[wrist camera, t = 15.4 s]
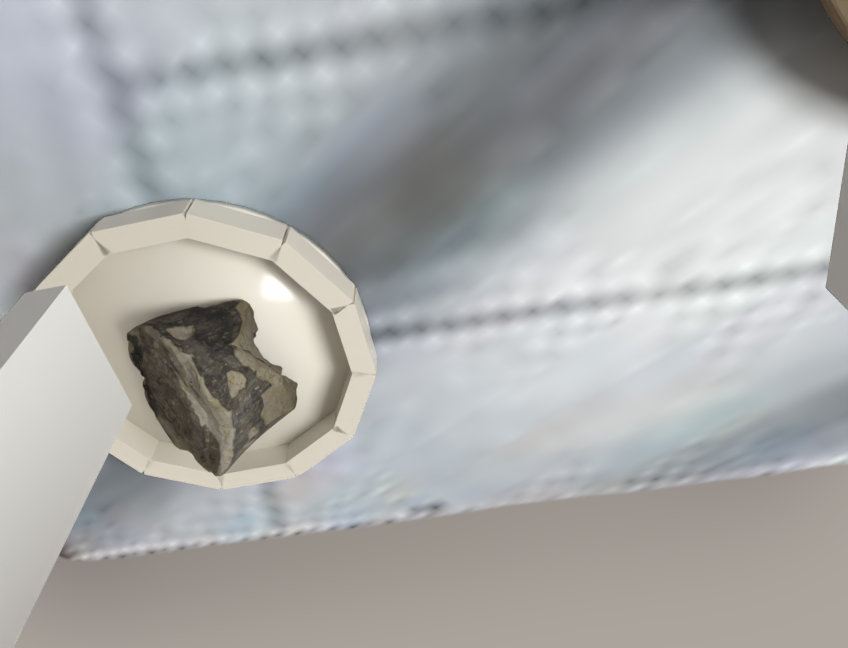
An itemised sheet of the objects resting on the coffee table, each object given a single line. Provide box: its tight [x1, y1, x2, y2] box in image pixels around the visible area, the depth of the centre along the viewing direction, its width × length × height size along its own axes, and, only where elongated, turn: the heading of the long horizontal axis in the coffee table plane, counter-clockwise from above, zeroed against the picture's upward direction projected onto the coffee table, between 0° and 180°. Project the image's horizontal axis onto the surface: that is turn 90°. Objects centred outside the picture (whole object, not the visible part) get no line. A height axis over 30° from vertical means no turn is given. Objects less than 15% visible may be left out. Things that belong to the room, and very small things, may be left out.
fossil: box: [127, 299, 298, 476], centre depth 44 cm, size 11×9×10 cm
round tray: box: [35, 199, 377, 490], centre depth 46 cm, size 21×21×3 cm
